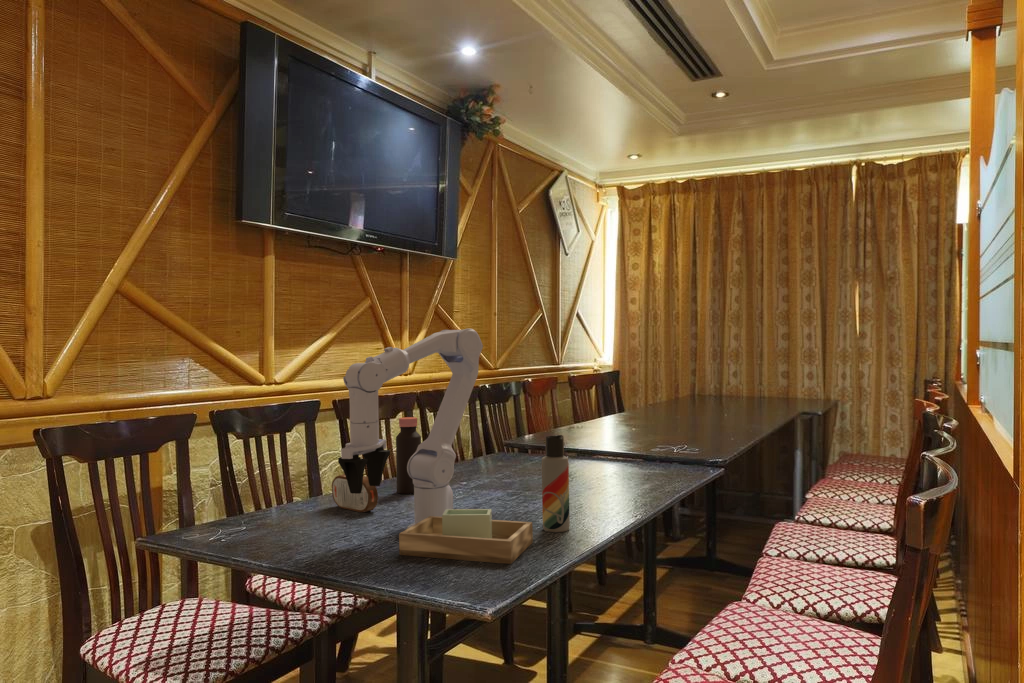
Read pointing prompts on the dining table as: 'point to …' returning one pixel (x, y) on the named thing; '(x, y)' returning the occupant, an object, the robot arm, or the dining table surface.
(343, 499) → the tin
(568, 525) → the lotion bottle
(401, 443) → the vinegar
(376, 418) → the robot arm
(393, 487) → the dining table surface
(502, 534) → the pine crate
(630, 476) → the dining table surface
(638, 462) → the dining table surface
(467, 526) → the small crate
